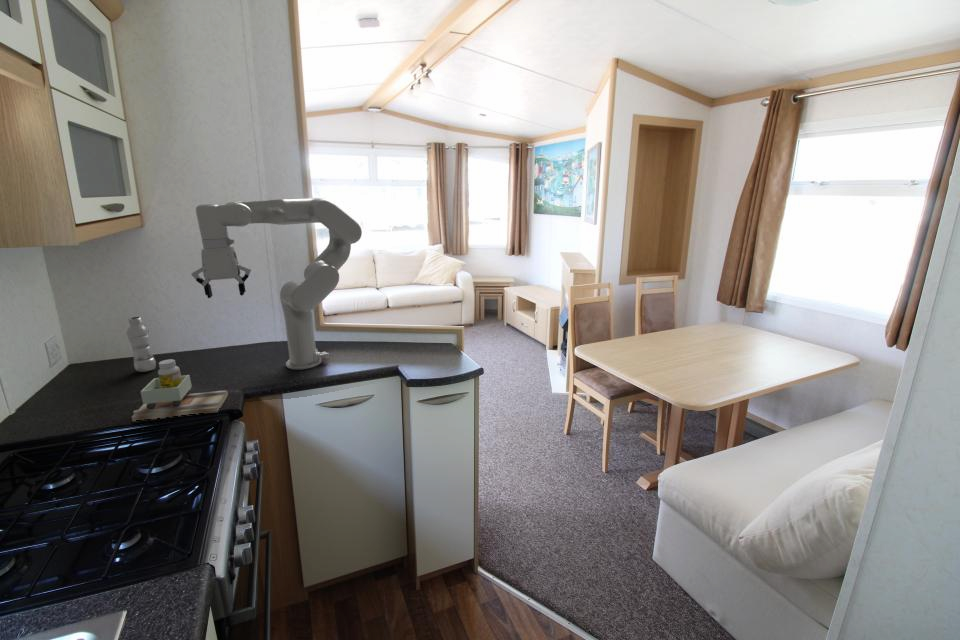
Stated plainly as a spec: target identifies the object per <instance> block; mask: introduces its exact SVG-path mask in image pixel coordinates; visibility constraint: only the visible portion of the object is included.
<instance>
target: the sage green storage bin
mask: <svg viewBox="0 0 960 640" xmlns="http://www.w3.org/2000/svg"><path fill="white" fill-rule="evenodd" d="M181 378H182V382H181V383H180V384H179V385H178V386H177V387H173V388H163V389H161V384H160V380H159V377H154V378H153V379H152V380H151V381H150V382H148V383H147V385H146V386H145V387H143V388H142V390H140V395H141V400H142V405H143V404H147V408H148V409H153V408H154V407H155V406H156V403H159V402H169V401H173V402H172V404H173V406H175V407H177V406H179V405H180V404H181V400H182V398H183V397H184V396H185V395H188V394H191V388H192V387H193V386H192V381H191V376H190V374H186V375H181Z"/></svg>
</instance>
